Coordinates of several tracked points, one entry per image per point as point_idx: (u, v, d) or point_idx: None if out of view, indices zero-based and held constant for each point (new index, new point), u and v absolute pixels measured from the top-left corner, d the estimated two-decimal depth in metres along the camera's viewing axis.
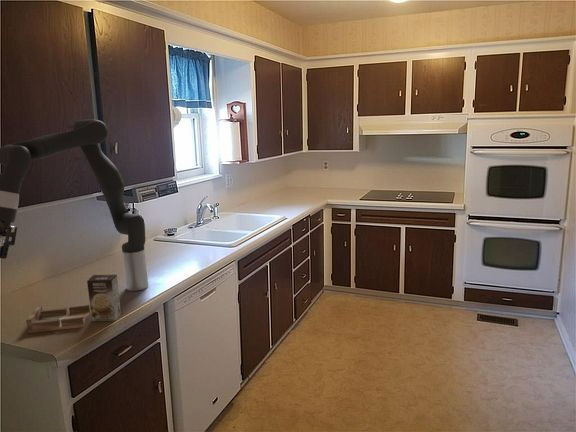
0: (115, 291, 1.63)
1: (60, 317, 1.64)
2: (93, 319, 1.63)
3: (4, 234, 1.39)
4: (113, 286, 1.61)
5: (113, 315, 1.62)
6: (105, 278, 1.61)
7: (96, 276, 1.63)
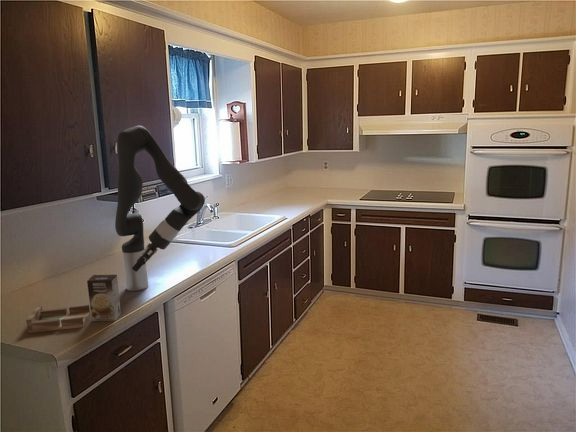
0: (115, 291, 1.63)
1: (60, 317, 1.64)
2: (93, 319, 1.63)
3: None
4: (113, 286, 1.61)
5: (113, 315, 1.62)
6: (105, 278, 1.61)
7: (96, 276, 1.63)
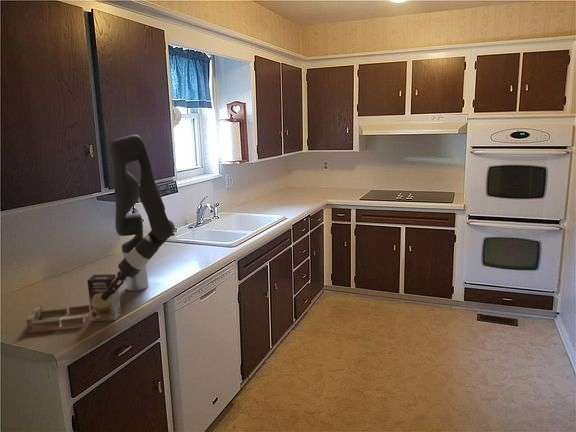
0: None
1: (60, 317, 1.64)
2: (93, 319, 1.63)
3: None
4: None
5: (113, 315, 1.62)
6: (105, 278, 1.61)
7: (96, 276, 1.64)
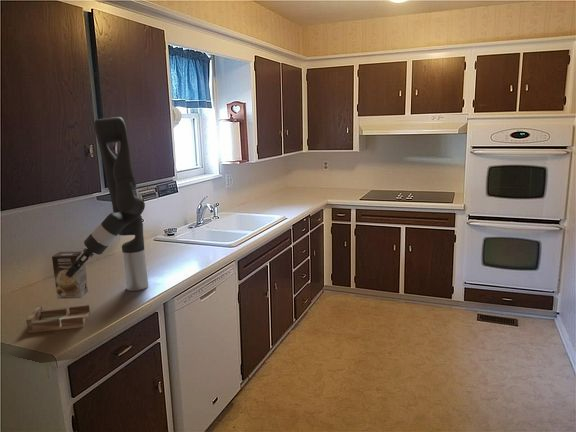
0: (81, 268, 1.59)
1: (60, 317, 1.64)
2: (58, 297, 1.58)
3: None
4: None
5: (79, 292, 1.58)
6: (71, 254, 1.57)
7: (62, 253, 1.59)
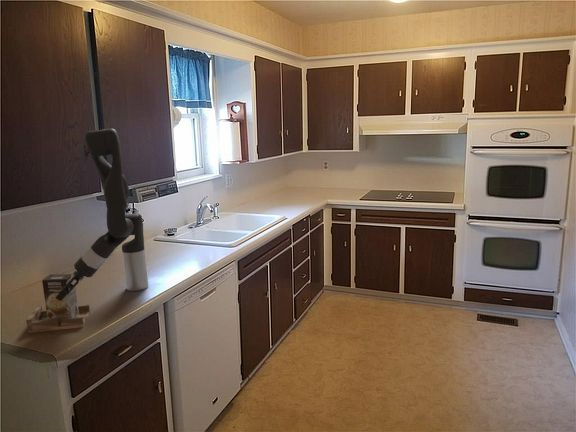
0: (71, 291, 1.59)
1: None
2: None
3: None
4: None
5: (69, 315, 1.59)
6: (61, 277, 1.58)
7: (52, 275, 1.60)
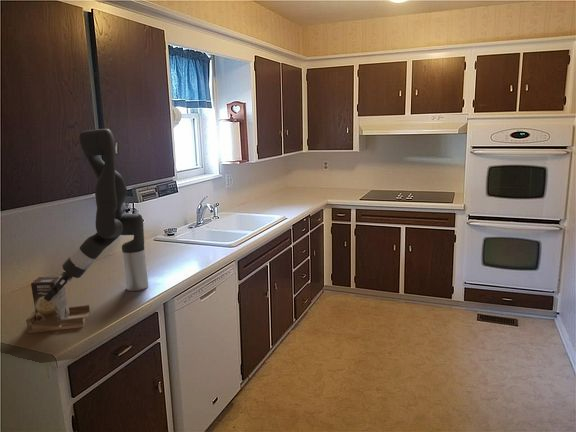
0: (60, 293, 1.59)
1: None
2: None
3: None
4: None
5: (59, 318, 1.58)
6: (50, 280, 1.57)
7: (41, 278, 1.59)
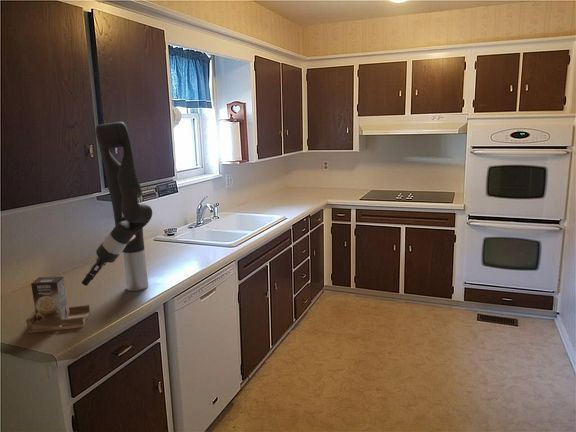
0: (61, 293, 1.59)
1: None
2: None
3: None
4: (59, 288, 1.58)
5: (59, 318, 1.59)
6: (50, 280, 1.57)
7: (41, 278, 1.59)
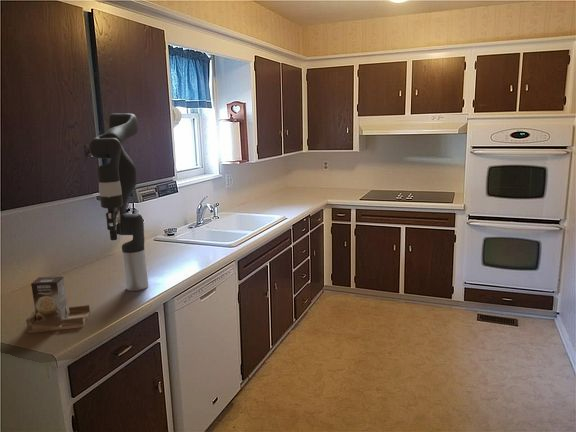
0: (61, 293, 1.59)
1: None
2: None
3: None
4: (59, 288, 1.58)
5: (59, 318, 1.59)
6: (50, 280, 1.57)
7: (41, 278, 1.59)
